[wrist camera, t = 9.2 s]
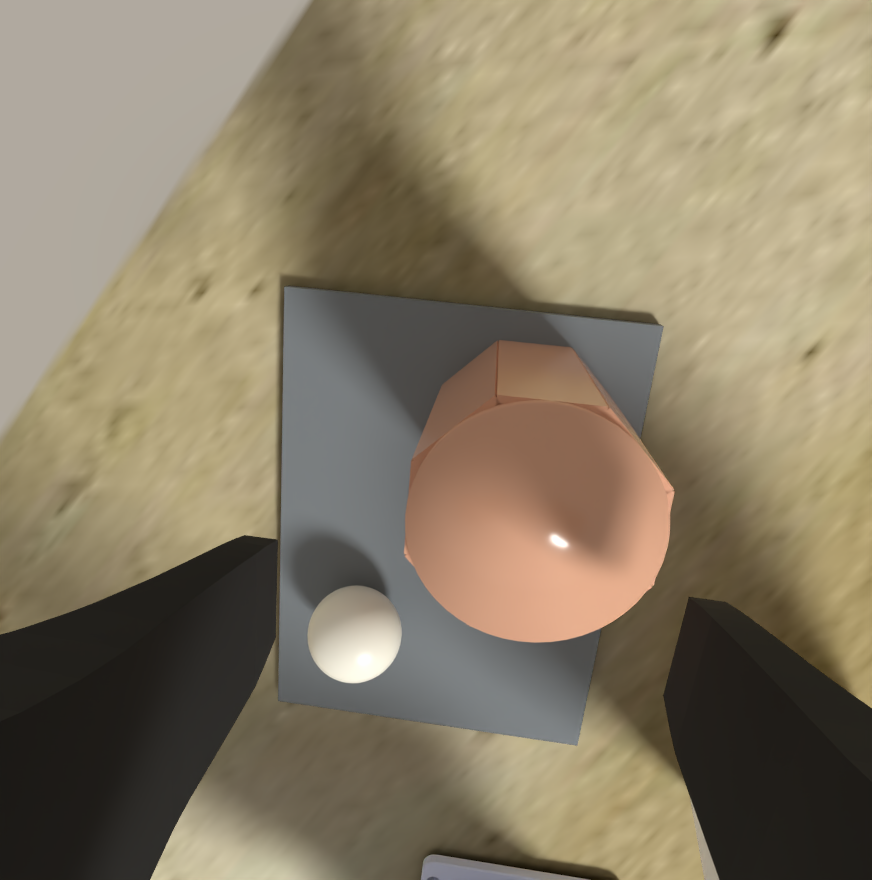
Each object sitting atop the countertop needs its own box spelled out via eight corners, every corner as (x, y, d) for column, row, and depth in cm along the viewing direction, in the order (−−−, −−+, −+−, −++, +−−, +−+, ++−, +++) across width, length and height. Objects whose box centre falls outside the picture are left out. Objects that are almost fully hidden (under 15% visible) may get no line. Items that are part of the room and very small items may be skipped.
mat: (576, 737, 23) (577, 745, 23) (281, 693, 24) (278, 700, 23) (660, 324, 18) (663, 326, 18) (288, 285, 19) (284, 286, 18)
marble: (404, 649, 22) (390, 711, 19) (320, 637, 22) (294, 696, 19) (411, 574, 21) (396, 627, 18) (323, 563, 21) (296, 613, 18)
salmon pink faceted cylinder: (595, 516, 20) (642, 658, 13) (431, 496, 20) (396, 625, 13) (625, 352, 18) (696, 420, 11) (446, 334, 18) (414, 390, 12)
